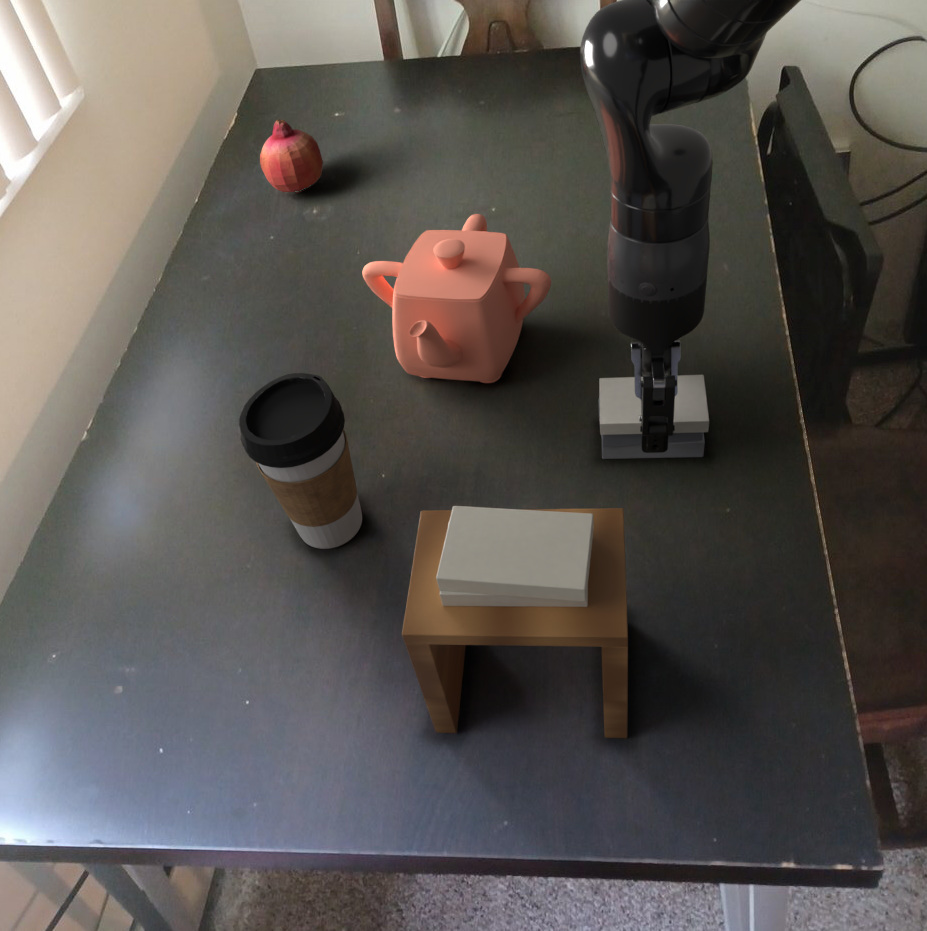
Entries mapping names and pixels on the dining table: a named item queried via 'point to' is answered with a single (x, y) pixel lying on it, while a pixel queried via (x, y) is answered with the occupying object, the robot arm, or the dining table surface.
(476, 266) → the teapot
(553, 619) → the shelf
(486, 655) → the dining table surface
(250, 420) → the coffee cup
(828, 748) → the dining table surface
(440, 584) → the white books
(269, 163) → the fruit
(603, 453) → the grey books
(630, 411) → the white book
